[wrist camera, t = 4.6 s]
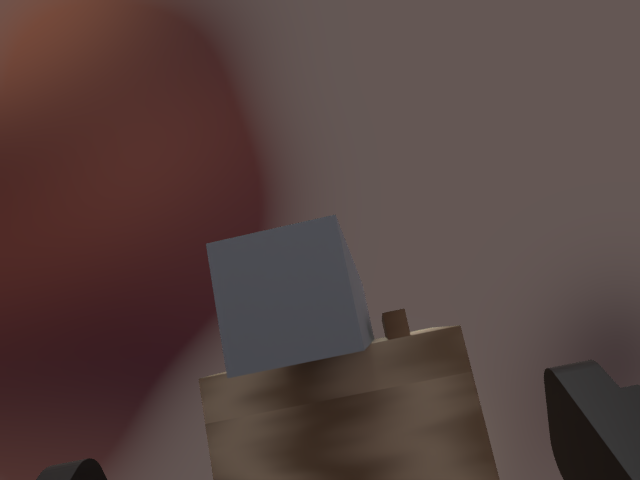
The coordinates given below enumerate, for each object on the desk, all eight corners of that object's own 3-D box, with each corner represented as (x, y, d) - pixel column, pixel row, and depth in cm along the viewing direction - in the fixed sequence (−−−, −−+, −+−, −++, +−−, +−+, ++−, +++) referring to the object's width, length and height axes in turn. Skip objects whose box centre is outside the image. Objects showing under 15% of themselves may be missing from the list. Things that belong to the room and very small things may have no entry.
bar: (227, 378, 14) (205, 243, 15) (318, 350, 35) (307, 294, 36) (364, 350, 14) (335, 214, 15) (374, 339, 35) (362, 283, 36)
